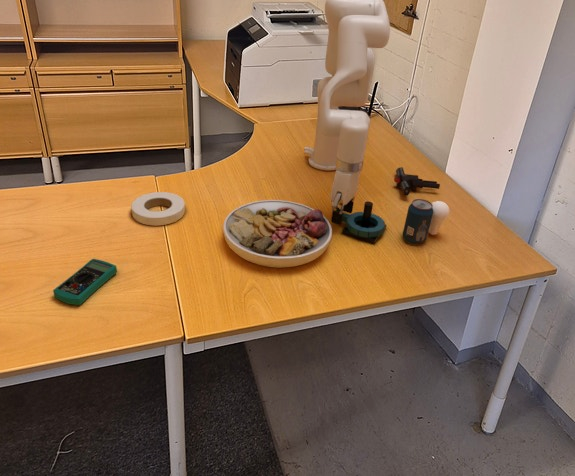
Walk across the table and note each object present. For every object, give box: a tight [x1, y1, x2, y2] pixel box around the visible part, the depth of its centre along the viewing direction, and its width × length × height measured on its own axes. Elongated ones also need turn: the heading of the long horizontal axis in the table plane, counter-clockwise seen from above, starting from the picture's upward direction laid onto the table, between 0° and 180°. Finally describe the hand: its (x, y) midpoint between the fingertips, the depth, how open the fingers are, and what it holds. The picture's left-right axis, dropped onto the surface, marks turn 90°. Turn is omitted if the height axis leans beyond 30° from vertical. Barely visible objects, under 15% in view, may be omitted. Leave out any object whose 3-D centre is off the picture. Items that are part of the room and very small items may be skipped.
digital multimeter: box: [52, 258, 118, 306], centre depth 124 cm, size 7×15×3 cm, turn 159°
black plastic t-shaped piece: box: [393, 166, 441, 197], centre depth 177 cm, size 5×20×15 cm
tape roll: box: [131, 191, 186, 227], centre depth 154 cm, size 16×15×3 cm
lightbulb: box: [428, 200, 450, 236], centre depth 151 cm, size 6×6×11 cm
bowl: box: [222, 199, 333, 268], centre depth 144 cm, size 30×30×8 cm
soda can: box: [402, 198, 433, 246], centre depth 148 cm, size 7×7×12 cm
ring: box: [342, 211, 386, 238], centre depth 152 cm, size 15×11×2 cm
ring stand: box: [341, 200, 387, 245], centre depth 151 cm, size 10×10×10 cm
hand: (341, 217), depth 155 cm, fingers open, 7 cm apart
